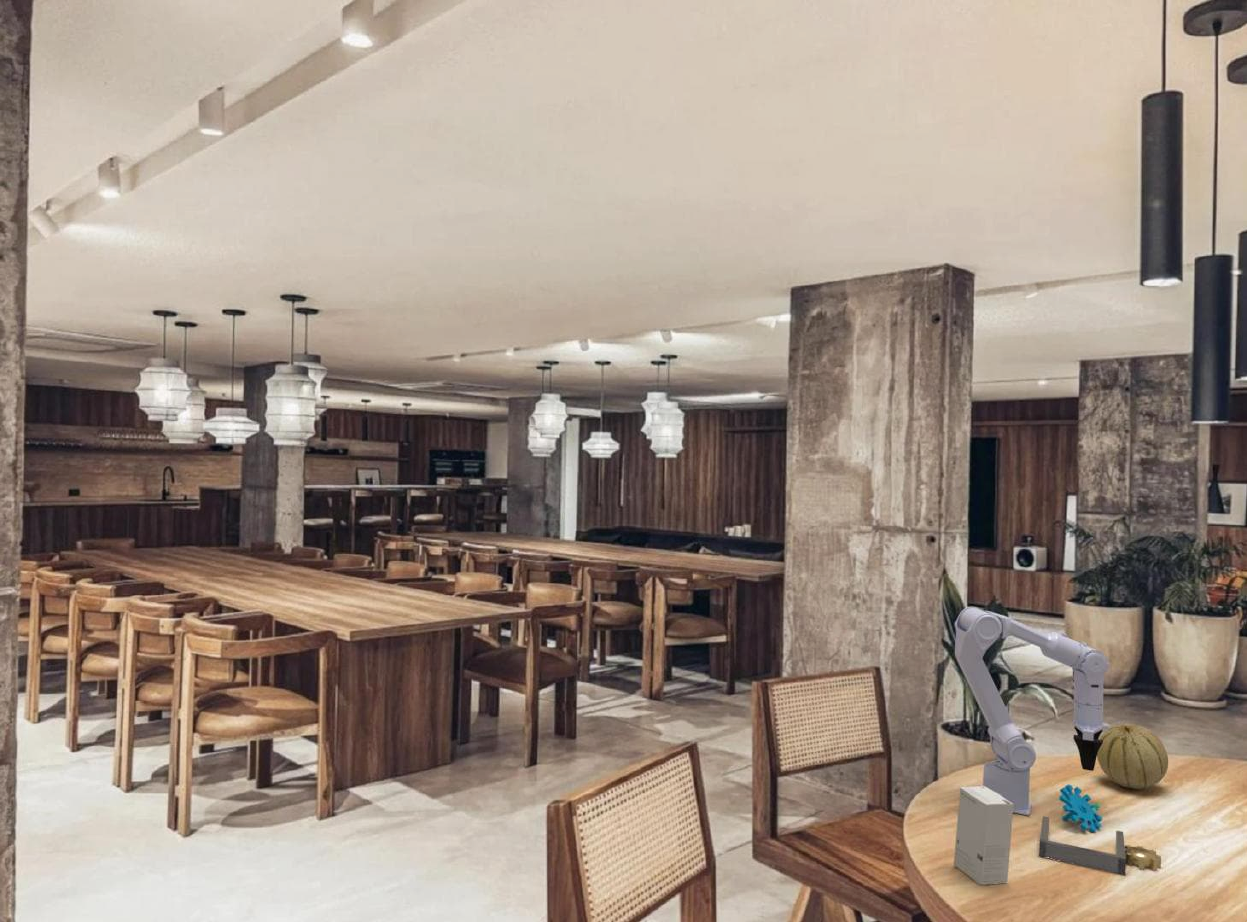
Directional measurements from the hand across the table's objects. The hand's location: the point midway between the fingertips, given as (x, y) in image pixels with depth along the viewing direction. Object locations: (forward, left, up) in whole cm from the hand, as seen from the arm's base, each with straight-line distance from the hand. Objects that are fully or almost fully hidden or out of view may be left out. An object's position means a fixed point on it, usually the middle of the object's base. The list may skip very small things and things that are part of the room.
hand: (1088, 764), depth 195 cm
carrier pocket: (+2, -25, -10) cm, 27 cm away
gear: (-1, -10, -10) cm, 15 cm away
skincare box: (-17, -47, -10) cm, 50 cm away
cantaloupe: (+9, +22, -10) cm, 26 cm away
